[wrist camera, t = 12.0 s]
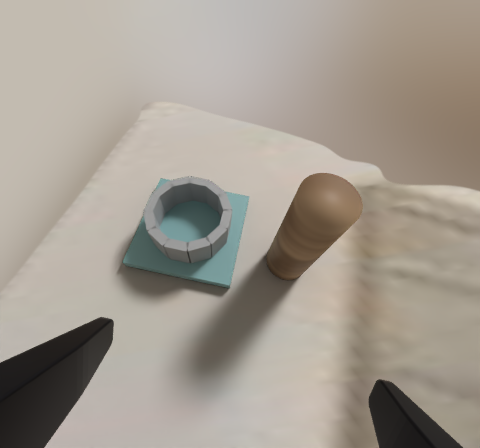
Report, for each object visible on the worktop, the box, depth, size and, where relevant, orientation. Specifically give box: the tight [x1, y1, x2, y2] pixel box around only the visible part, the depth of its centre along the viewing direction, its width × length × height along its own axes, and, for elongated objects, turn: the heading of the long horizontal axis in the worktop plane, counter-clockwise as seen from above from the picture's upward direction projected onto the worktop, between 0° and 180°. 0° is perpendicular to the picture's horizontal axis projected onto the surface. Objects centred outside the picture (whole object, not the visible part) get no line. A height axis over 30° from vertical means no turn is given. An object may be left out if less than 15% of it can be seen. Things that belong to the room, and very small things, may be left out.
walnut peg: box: [266, 173, 363, 280], centre depth 20 cm, size 4×4×11 cm
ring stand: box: [123, 176, 249, 288], centre depth 23 cm, size 10×10×4 cm
